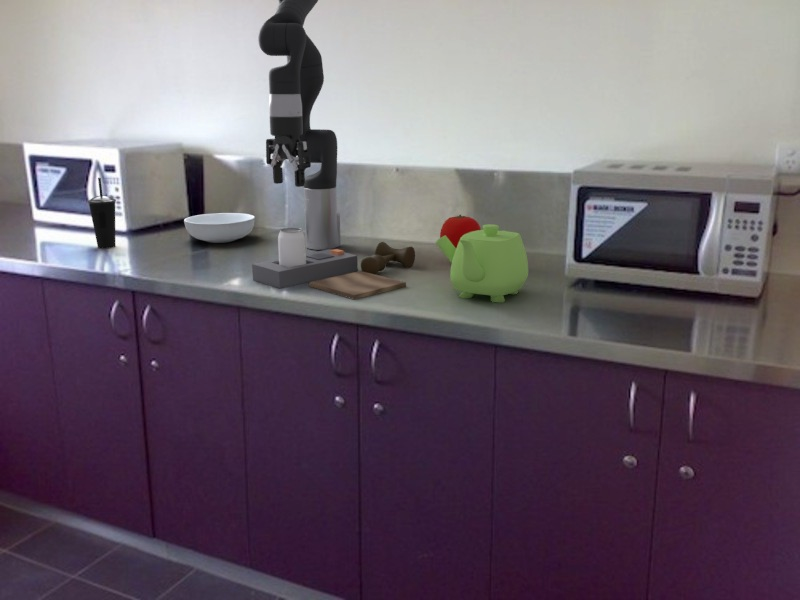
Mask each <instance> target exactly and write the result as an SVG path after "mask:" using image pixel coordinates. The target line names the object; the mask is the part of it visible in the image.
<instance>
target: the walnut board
mask: <svg viewBox="0 0 800 600" xmlns="http://www.w3.org/2000/svg"><path fill="white" fill-rule="evenodd" d="M308 283H309V287H310V288H313V287H314V288H313V289H316V288H317V290H320V289H321V290H320V291H323V290H324V291H323V292H327V291H328V292H327V293H330V292H331V294H333V293H335V294H334V295H337V294H339V295H338V296H340V295H342V296H341V297H344V296H347V297H350V298H353V299H352V300H356V299H355V298H358V299H361V298H360V297H362V298H366V297H369V295H370V296H375V295H377V294H381V293H385V292H389V291H393V290H394V291H395V290H397V289H398V290H399V289H401V288H405V287H407V284H406V283H407V281H403V280H399V279H394V278H390V277H387V276H384V275H378V274H377V275H375V274H371V273H367V272H363V271H362V270H358V271H356V272H351V273H347V274H342V275H338V276H333V277H329V278H324V279H320V280H315V281H311V282H308ZM365 296H366V297H365ZM347 297H346V298H347ZM350 298H349V299H350Z"/></svg>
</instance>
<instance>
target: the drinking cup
mask: <svg viewBox="0 0 800 600" xmlns="http://www.w3.org/2000/svg"><path fill="white" fill-rule="evenodd" d="M97 181H98V189H99V195H97V196H94V197H92V198H90V199H88V200H87V203H88V206H89V210H90V215H91V220H92V226H93V230H94V235H95V240H96V244H97V248H98V249H110V248H111V249H112V248H115V247H116V202H117V199H116V198H113V197H111V196H109V195H103V188H102V185H103V184H102V177H98V178H97Z"/></svg>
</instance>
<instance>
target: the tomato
mask: <svg viewBox="0 0 800 600" xmlns="http://www.w3.org/2000/svg"><path fill="white" fill-rule="evenodd" d="M477 230H482V228H481V226H480V224H479V222H478V221H477V220H476V219H474V218H472V217H470V216H467V215H462V214H458V215H456V216H451V217H448V218H447V219H445V221H444V222H443V224H442V226H441V228H440V231H439V232H440V233H439V239H440V238H441V237H443V236H445V235H446V237H447V238H448V239H449V240H450V242H451V243H452V244H453V245H454V247H455V248H457V245H458V243H459V240H460V238H461V237H462V236H463V235H465V234H467V233H469V232H473V231H477Z"/></svg>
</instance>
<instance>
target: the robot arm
mask: <svg viewBox="0 0 800 600" xmlns="http://www.w3.org/2000/svg"><path fill="white" fill-rule="evenodd" d="M318 1H319V0H277V2H278V5H277V8H276V10H275V12H274V14H273V15H272V16H271V17H270V18H268V19H266V21H264V23H263V24H262V26H261V27H260V29H259V33H258V37H257V38H258V39H257V40H258V46H259V48H260V49H261V52H263V53H264V54H265V55H267V56H269V57H274V56H275V57H286V62H287V63H286V64H284V65H280V66H276V67H272V68H270V70H269V71H268V87H269V89H268V90H269V100H268V101H269V102H268V110H269V111H268V112H269V129H270V130H269V133H270V135H271V136H272V137H274V138H267V139H265V151H266V152H265V155H266V156H265V161H266V164H267V165H270V167H271V168H272V174H273V175H272V176H273V177H272V179H273V183H274V184H276V185H278V184H283V183H284V178H283V177H284V173H283V167H282V166H283V164H284V162H285V161H287V160H288V162H289V163H291V164H292V166H293V168H294V186H295V187H297V188H301V187H303V200H304V201H303V203H304V227H305V228H304V230H305V231H304V232H305V233H304V235H305V247H306V249H310V250H315V251H316V250H319V251H323V250H328V249H331V250H334V249H337V248H338V247H340V246H342V241H341V239H342V238H341V213H340V212H338V202H337V201H338V200H337V198H338V196H337V177H338V139H337V135H336V132H335V131H334V130H331V129H319V128H318V129H314V128H313V129H311V112H312V109H313V106H314V105H315V102H316V101H317V98H319V97H318V96H319V94H320V92H321V90H322V88H323V85H324V82H325V80H324V79H325V77H324V76H325V75H324V68H323V67H324V65H323V58H322V55H321V52H320V50H319V49H318V48H317V46H316V45H315V43H314V42H313V40H312V39H311V38H310V37H309V36H308V35H307V33H306V30H305V28H304V26H305V25H304V24H305V20H306V18H307V16H308V15H309V13H310V12H311V11H312V10H313V8H314V7H315V6H316V5H317V3H318ZM311 164H320V165H321V166H320V169H319V170H318V171H316V172H315V173H313V174H310V175H306V176H305V170H306V169H308V168H311Z"/></svg>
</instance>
